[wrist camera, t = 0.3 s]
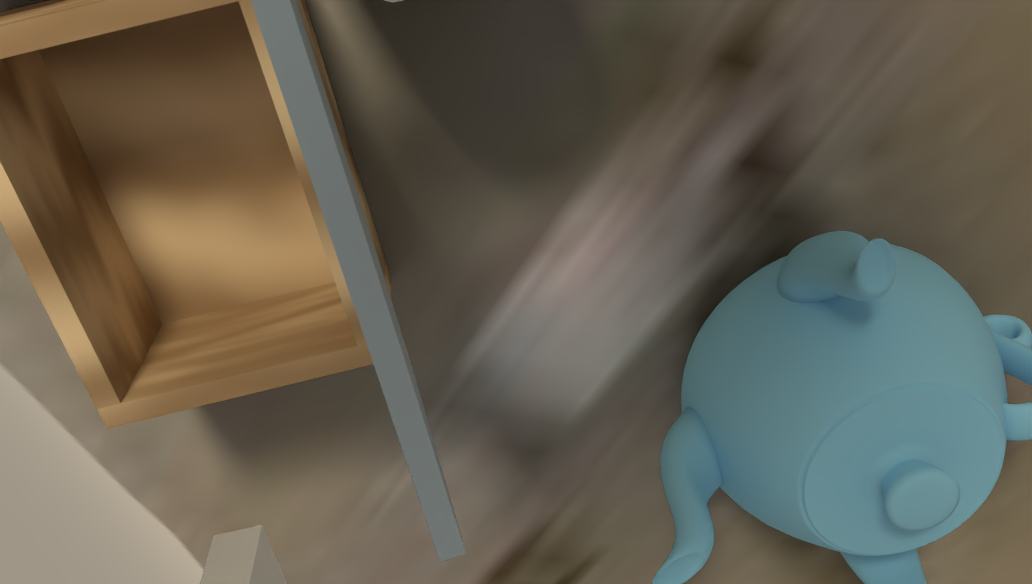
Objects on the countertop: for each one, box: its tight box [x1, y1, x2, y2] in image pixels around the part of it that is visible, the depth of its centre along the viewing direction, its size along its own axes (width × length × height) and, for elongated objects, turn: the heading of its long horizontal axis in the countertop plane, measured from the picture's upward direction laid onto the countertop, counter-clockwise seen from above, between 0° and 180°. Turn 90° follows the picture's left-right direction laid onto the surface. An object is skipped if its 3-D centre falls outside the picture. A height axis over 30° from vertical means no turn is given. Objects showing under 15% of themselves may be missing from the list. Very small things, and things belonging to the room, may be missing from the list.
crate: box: [0, 0, 391, 429], centre depth 38 cm, size 16×12×8 cm
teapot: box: [652, 231, 1032, 584], centre depth 44 cm, size 17×19×12 cm
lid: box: [251, 0, 466, 563], centre depth 29 cm, size 17×12×1 cm
